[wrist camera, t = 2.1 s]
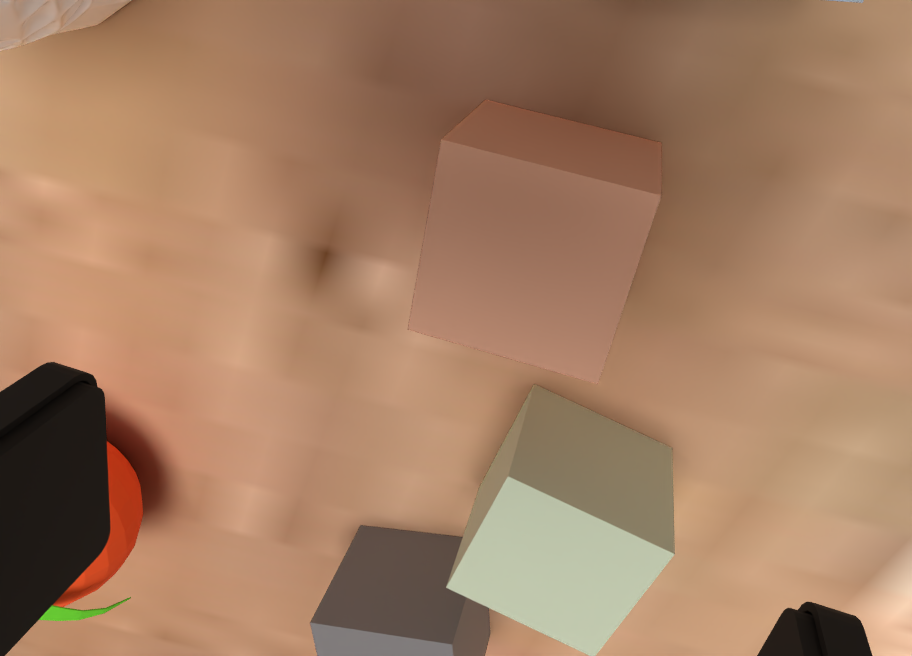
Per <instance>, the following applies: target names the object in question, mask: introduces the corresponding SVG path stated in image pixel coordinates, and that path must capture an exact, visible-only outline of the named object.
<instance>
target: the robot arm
mask: <svg viewBox="0 0 912 656" xmlns="http://www.w3.org/2000/svg"><path fill="white" fill-rule="evenodd" d="M110 529H111V527H110V504H109V482H108V459H107V437H106V414H105V396H104V392H103V391H102V389H100V388H98V387H97V383H96V379H95V378H94V376H93V375H91V374H89V373H86V372H83V371H80V370H77V369H74V368H71V367H67V366H64V365H61V364H58V363H55V362H50V363H46V364H43V365H41V366H40V367H38V368H36V369H35V370H33V371H32V372H30V373H29V374H27V375H26V376H24V377H23V378H21V379H20V380H18V381H17V382H15V383H14V384H12V385H10V386H9V387H7V388H6V389H4V390H3V391H1V392H0V656H5V655H6V654H7V653H8V652H9V651H10V650H11V648H12V647H13V646H14V645H15V644H16V643H17V642H18V641H19V640H20V639H21V638H22V637H23V636H24V635H25V634H26V633H27V631H28V630H29V629H30V628H31V627H32V626H33V625H34V624H35V623H36V622H37V621H38V620H39V619H40V618H41V617H42V616H43V615H44V613H45V612H46V611H47V610H48V609H49V608H50V607H51V606H52V605H53V604H54V603H55V602H56V601H57V600H58V599H59V598H60V597H61V595H62V594H63V593H64V592H65V591H66V590H67V589H68V588H69V587H70V586H71V585H72V584H73V583H74V582H75V581H76V580H77V578H78V577H79V576H80V575H81V574H82V573H83V572H84V571H85V570H86V569H87V568H88V567H89V566H90V565H91V564H92V563H93V562H94V560H95V559H96V558H97V557H98V556H99V555H100V554H101V552H102V551H103V549H104V548H105V546H106V544H107V541H108V539H109V535H110ZM757 656H872V653H871V650H870V647H869V643H868V640H867V637H866V634H865V630H864V627H863V625H862V623H861V621H860V620H859V619H858V618H857V617H856V616H853V615H850V614H847V613H844V612H841V611H838V610H835V609H831V608H828V607H825V606H822V605H819V604H816V603H812V602H805V603H804V604H802V605H801V607H800V608H799V609H798V610H795V609H792V608H787V609H785V610H784V611H783V613H782V614H781V616H780V617H779V619H778V621H777V623H776V624H775V626H774V628H773V630H772V631H771V633H770V635H769V636H768V638H767V640H766V642H765V643H764V645H763V647H762V649H761V650H760V652H759V654H758V655H757Z"/></svg>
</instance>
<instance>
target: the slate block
mask: <svg viewBox="0 0 912 656" xmlns="http://www.w3.org/2000/svg"><path fill="white" fill-rule="evenodd" d="M829 1H844V2H859V3H863V1H864V0H829Z"/></svg>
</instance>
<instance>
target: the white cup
mask: <svg viewBox="0 0 912 656" xmlns="http://www.w3.org/2000/svg"><path fill="white" fill-rule="evenodd" d="M131 1H132V0H0V51H3V50H8V49H12V48H16V47H20V46H23V45H26V44H28V43H31V42H34V41H37V40H39V39H42V38H44V37H46V36H49V35H53V34H58V33H63V32H67V31H72V30H77V29H82V28H87V27H91V26H95V25H98V24H100V23H101V22H103V21H104V20H106V19H107V18H108V17H110V16H111V15H113V14H114V13H115V12H117V11H118V10H119V9H121V8H122V7H124V6H125V5H126V4H128V3H129V2H131Z"/></svg>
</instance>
